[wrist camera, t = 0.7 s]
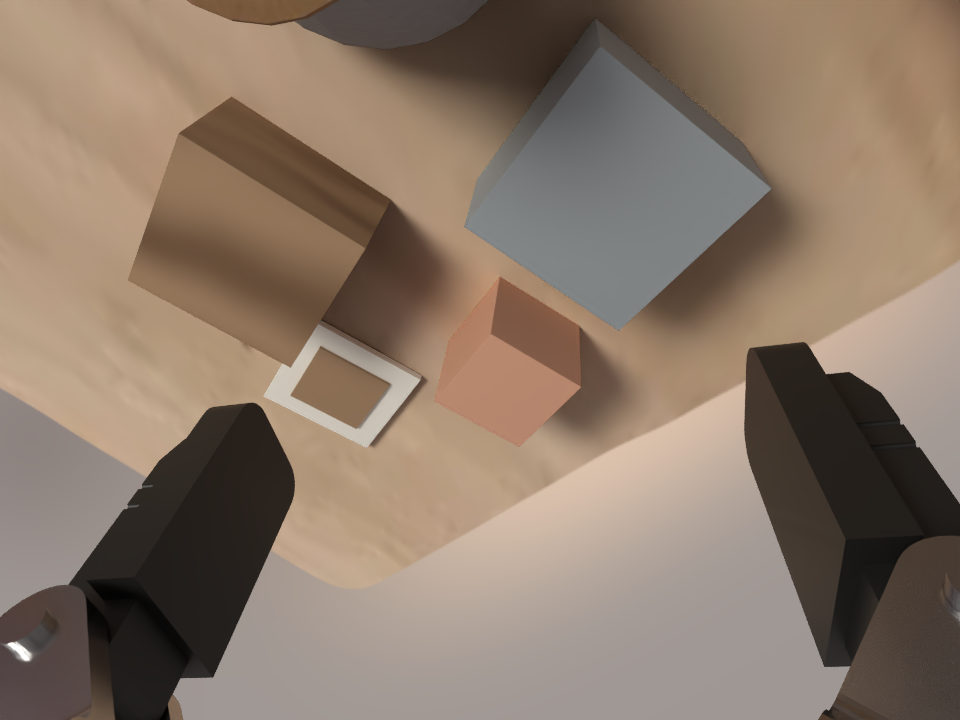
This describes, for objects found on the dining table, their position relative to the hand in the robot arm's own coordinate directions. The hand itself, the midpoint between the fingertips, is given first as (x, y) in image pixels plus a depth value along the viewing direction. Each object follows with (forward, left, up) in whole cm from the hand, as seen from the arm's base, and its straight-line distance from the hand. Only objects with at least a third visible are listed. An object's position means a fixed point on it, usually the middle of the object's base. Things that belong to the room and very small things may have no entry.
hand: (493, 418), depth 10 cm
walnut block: (+12, -7, -20) cm, 24 cm away
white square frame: (+20, 0, -20) cm, 28 cm away
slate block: (+1, +4, -20) cm, 20 cm away
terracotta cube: (+11, +6, -20) cm, 23 cm away
